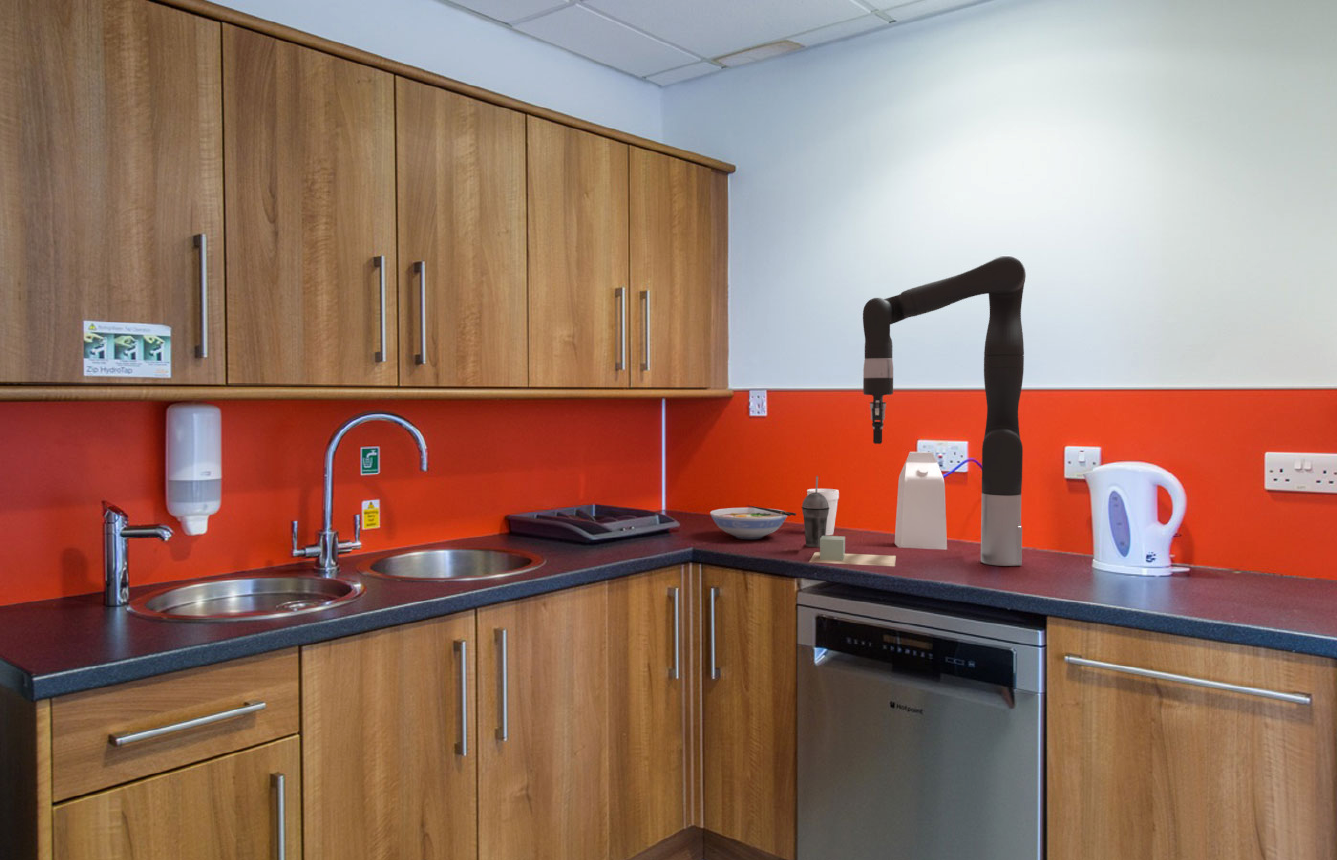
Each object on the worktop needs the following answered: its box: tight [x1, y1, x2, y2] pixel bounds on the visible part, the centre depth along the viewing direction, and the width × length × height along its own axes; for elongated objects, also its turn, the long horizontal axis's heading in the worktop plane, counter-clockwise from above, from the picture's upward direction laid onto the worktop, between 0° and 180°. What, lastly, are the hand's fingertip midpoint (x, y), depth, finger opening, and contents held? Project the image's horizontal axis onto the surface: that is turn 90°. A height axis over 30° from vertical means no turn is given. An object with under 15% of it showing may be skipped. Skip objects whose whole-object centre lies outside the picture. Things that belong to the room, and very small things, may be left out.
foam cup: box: [806, 488, 840, 536], centre depth 271 cm, size 10×9×13 cm
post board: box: [808, 551, 897, 567], centre depth 222 cm, size 20×14×6 cm
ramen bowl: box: [709, 504, 797, 540], centre depth 264 cm, size 25×23×8 cm
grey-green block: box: [819, 535, 846, 561], centre depth 223 cm, size 6×6×5 cm
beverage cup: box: [801, 475, 829, 548], centre depth 241 cm, size 7×7×20 cm
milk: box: [894, 451, 948, 550], centre depth 247 cm, size 12×12×26 cm
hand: (877, 443), depth 235 cm, fingers closed
